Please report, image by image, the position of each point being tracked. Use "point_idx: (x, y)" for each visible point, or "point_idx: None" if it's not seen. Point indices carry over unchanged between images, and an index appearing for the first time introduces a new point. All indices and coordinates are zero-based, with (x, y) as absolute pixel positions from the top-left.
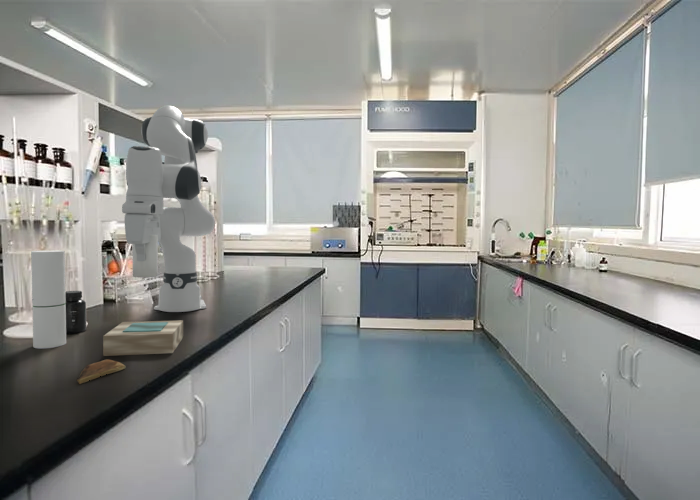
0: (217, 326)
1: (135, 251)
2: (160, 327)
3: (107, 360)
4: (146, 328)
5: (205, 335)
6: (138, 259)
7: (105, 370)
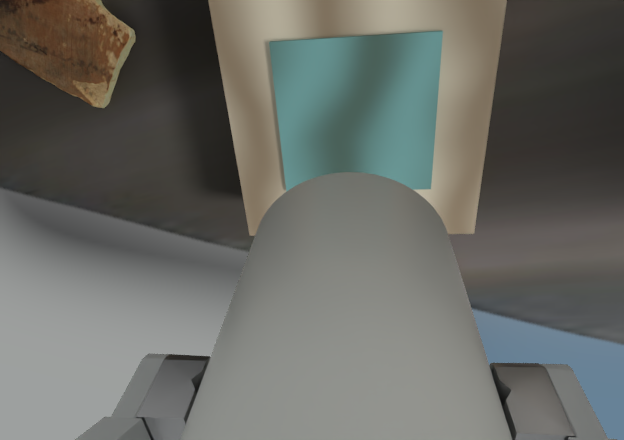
0: (604, 285)
1: (190, 421)
2: None
3: (114, 40)
4: (316, 131)
5: (470, 261)
6: (142, 373)
7: (37, 70)
